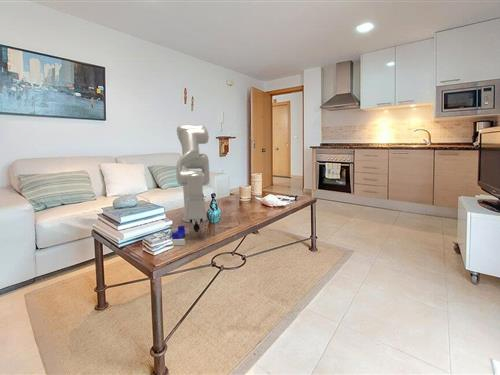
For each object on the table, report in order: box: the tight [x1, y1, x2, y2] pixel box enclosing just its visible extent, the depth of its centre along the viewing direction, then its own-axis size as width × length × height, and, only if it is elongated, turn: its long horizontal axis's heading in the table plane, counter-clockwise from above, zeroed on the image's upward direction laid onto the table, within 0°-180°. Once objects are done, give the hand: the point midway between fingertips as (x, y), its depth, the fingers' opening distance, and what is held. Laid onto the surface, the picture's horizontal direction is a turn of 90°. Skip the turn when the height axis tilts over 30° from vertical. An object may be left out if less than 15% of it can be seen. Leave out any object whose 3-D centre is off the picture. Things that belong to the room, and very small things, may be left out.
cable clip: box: [171, 225, 186, 239], centre depth 136 cm, size 12×4×6 cm, turn 179°
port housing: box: [167, 227, 190, 247], centre depth 137 cm, size 17×10×3 cm, turn 6°
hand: (196, 231), depth 139 cm, fingers closed
